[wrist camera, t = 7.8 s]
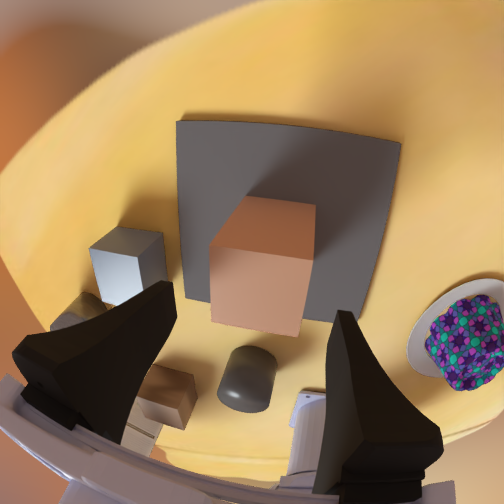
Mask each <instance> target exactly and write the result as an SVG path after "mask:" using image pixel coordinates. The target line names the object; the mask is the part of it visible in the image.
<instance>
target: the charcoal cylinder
mask: <svg viewBox="0 0 504 504" xmlns="http://www.w3.org/2000/svg"><path fill="white" fill-rule="evenodd" d="M276 370H277V361H276V359H275V357H274V356H273V355H272V354H271V353H269V352H268V351H266V350H264V349H262V348H259V347H255V346H242V347H238V348H236V349H235V350H233V351H232V353H231V355H230V358H229V360H228V363H227V366H226V369H225V372H224V374H223V377H222V380H221V383H220V385H219V388H218V391H217V396H218V398H219V400H220V401H221V402H222V403H223V404H225V405H226V406H228V407H230V408H232V409H234V410H237V411H240V412H245V413H257V412H261V411H264V410H266V409H267V408H268V406H269V404H270V399H271V394H272V389H273V384H274V380H275V375H276Z"/></svg>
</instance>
